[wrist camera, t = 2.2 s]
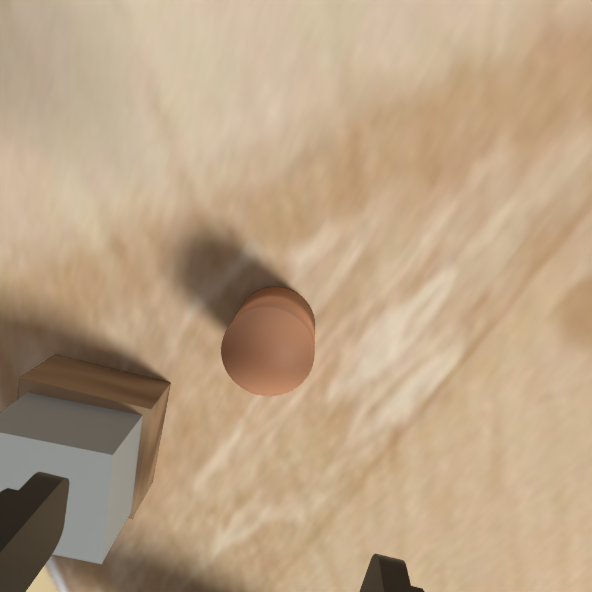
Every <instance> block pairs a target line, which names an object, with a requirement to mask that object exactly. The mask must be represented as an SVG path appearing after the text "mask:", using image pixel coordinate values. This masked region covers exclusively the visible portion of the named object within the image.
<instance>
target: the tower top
mask: <svg viewBox="0 0 592 592" xmlns="http://www.w3.org/2000/svg"><path fill="white" fill-rule="evenodd" d="M142 417H143V415H138V414H133V413H128V412H123V411H118V410H113V409H108V408H103V407H99V406H94V405H89V404H84V403H79V402H74V401H69V400H64V399H59V398H54V397H49V396H44V395H39V394H34V393H29V392H27V393H26V394H25V395H23V396H22V397H20V398H19V399H18V400H16V401H15V402H13V403H12V404H11V405H9V406H8V407H7V408H5V409H4V410H2V411H1V412H0V492H1V491H3V490H4V489H6V488H11V489H15V490H19V489H20V488H21V487H22V486H23V485H24V484H25V483H26V482H27V481H28V480H29V479H30V478H31V477H32V476H33V475H34V474H35V473H37V472H44V473H48V474H52V475H56V476H60V477H64V478H68V479H69V483H70V484H69V493H68V500H67V508H66V515H65V523H64V529H63V532H62V535H61V538H60V540H59V543H58V545H57V547H56V549H55V550H54V552H53V555H58V556H63V557H68V558H73V559H78V560H83V561H88V562H93V563H98V564H102V563H103V561H104V559H105V557H106V555H107V554H108V552H109V550H110V548H111V547H112V545H113V543H114V541H115V540H116V538H117V536H118V534H119V532H120V531H121V529H122V527H123V525H124V524H125V522H126V520H127V518H128V517H129V515H130V513H131V508H132V500H133V491H134V483H135V475H136V466H137V458H138V450H139V441H140V433H141V425H142Z"/></svg>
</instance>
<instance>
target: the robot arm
mask: <svg viewBox="0 0 592 592" xmlns="http://www.w3.org/2000/svg"><path fill="white" fill-rule="evenodd" d="M69 484H70V483H69V479H68V478H64V477H60V476H56V475H52V474H48V473H44V472H37V473H35V474H34V475H33V476H32V477H31V478H30V479H29V480H28V481H27V482H26V483H25V484H24V485H23V486H22V487H21V488H20V489H19V490H15V489H11V488H6V489H4V490H3V491H1V492H0V592H26V590H27V589H28V587H29V586H30V585H31V583H32V582H33V580H34V579H35V577H36V576H37V575H38V573H39V572H40V571H41V569H42V568H43V566H44V565H45V564H46V562H47V561H48V559H49V558H50V557H51V555H52V554H53V552H54V550H55V549H56V547H57V545H58V543H59V540H60V538H61V535H62V532H63V529H64V523H65V515H66V508H67V500H68V493H69ZM360 592H424V590H423V589H422V588H417V587H413V586H411V585H410V580H409V576H408V572H407V567H406V564H405V562H404V561H403V560H400V559H396V558H391V557H387V556H383V555H379V554H374V555H373V556H372V558H371V561H370V564H369V567H368V570H367V572H366V575H365V578H364V581H363V584H362V586H361V589H360Z"/></svg>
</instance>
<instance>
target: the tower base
mask: <svg viewBox="0 0 592 592" xmlns="http://www.w3.org/2000/svg"><path fill="white" fill-rule="evenodd" d="M170 385H171V383H170V382H166V381H161V380H157V379H153V378H149V377H145V376H141V375H137V374H132V373H128V372H124V371H120V370H116V369H112V368H107V367H103V366H99V365H95V364H91V363H87V362H83V361H78V360H74V359H70V358H66V357H62V356H58V355H54V356H52V357H51V358H49V359H48V360H46V361H45V362H43V363H41V364H40V365H38V366H37V367H35V368H34V369H32V370H31V371H29V372H28V373H26V374H25V375H23V376H22V377H20V379H19V390H18V399H19V398H20V397H22V396H23V395H25V394H26V393H27V392H29V393H34V394H39V395H44V396H49V397H54V398H59V399H64V400H69V401H74V402H79V403H84V404H89V405H94V406H99V407H103V408H108V409H113V410H118V411H123V412H128V413H133V414H138V415H143V417H142V425H141V433H140V441H139V450H138V458H137V466H136V475H135V483H134V491H133V500H132V508H131V513H130V515H129V517H128V518H131V519H133V517H134V515H135V513H136V511H137V510H138V508H139V506H140V504H141V502H142V500H143V499H144V497H145V495H146V493H147V491H148V490H149V488H150V486H151V484H152V482H153V478H154V473H155V467H156V462H157V456H158V451H159V445H160V440H161V434H162V429H163V423H164V418H165V412H166V407H167V401H168V396H169V390H170Z"/></svg>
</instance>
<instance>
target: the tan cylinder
mask: <svg viewBox="0 0 592 592" xmlns="http://www.w3.org/2000/svg"><path fill="white" fill-rule="evenodd" d="M314 346H315V319H314V314H313V312H312V309H311V307H310V306H309V304H308V303H307V301H306V300H305V299H304V298H303V297H302V296H300V295H299V294H298V293H296V292H294V291H292V290H290V289H287V288H283V287H268V288H264V289H261V290H258V291H256V292H255V293H253V294H252V295H251V296H249V297H248V298H247V299H246V301H245V302H244V303H243V305H242V306H241V308H240V310H239V311H238V313H237V314H236V316H235V318H234V319H233V321H232V322H231V324H230V326H229V327H228V329H227V331H226V332H225V335H224V337H223V341H222V346H221V355H222V361H223V364H224V367H225V369H226V371H227V373H228V374H229V376H230V377H231V378H232V380H233V381H234V382H235V383H236V384H238V385H239V386H240V387H242V388H243V389H245V390H247V391H249V392H251V393H254V394H257V395H262V396H276V395H281V394H285V393H287V392H290V391H292V390H293V389H295V388H297V387H298V386H299V385H300V384H301V383H302V382H303V381H304V380H305V379H306V378H307V376H308V375H309V373H310V371H311V368H312V366H313V361H314Z"/></svg>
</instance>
